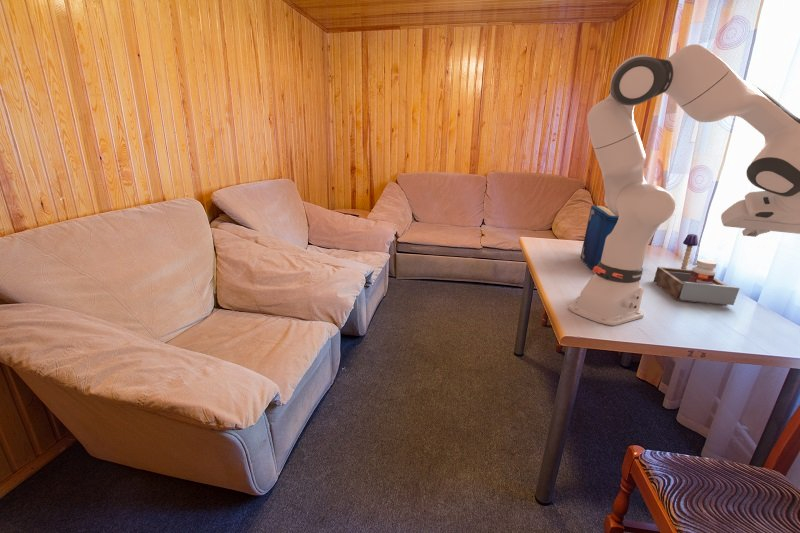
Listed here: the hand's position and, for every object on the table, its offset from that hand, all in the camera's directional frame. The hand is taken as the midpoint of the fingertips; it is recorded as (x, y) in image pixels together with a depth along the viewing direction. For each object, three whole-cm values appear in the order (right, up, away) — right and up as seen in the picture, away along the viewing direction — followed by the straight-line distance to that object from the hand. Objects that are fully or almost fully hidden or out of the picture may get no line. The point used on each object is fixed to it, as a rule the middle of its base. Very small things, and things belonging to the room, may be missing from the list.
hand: (748, 234), depth 103 cm
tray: (+3, -18, +24) cm, 30 cm away
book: (-17, -10, +50) cm, 54 cm away
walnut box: (+3, -19, +26) cm, 32 cm away
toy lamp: (+17, -13, +46) cm, 50 cm away
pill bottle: (+2, -19, +21) cm, 28 cm away
